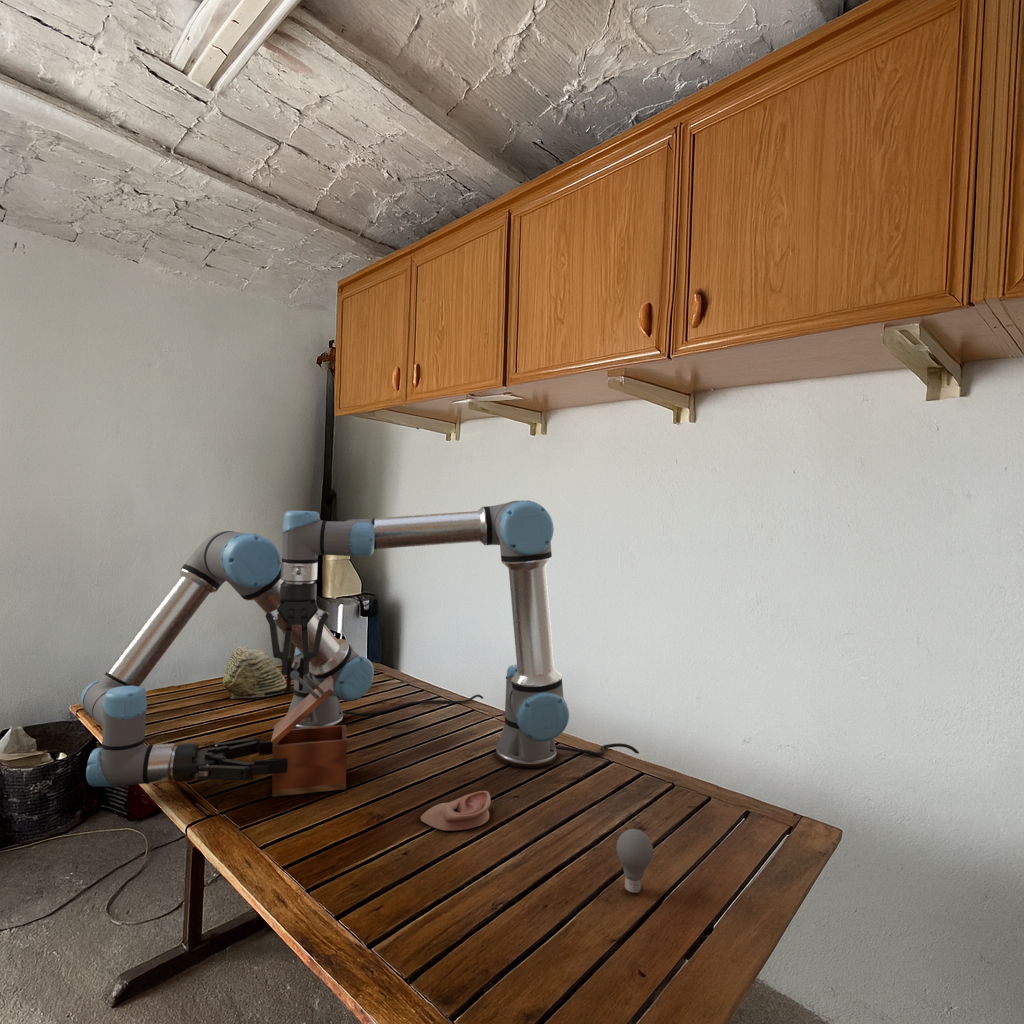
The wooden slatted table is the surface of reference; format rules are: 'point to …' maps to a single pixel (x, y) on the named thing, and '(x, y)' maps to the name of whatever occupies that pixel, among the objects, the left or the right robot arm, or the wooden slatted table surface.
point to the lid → (302, 703)
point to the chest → (311, 760)
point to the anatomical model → (459, 812)
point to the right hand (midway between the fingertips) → (294, 688)
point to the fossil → (252, 674)
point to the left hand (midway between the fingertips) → (288, 755)
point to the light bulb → (634, 857)
